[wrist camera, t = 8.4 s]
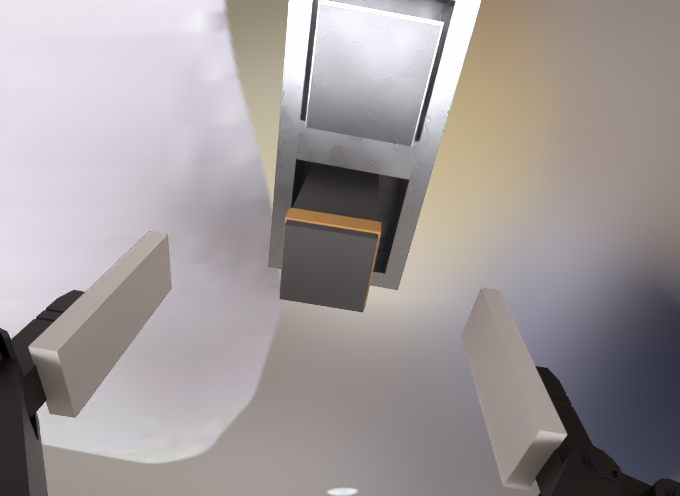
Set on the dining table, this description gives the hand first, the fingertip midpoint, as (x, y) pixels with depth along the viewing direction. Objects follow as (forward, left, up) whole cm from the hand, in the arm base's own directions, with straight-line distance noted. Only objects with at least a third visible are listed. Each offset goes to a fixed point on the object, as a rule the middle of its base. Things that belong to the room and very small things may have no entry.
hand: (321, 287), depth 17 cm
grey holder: (0, +4, -11) cm, 12 cm away
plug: (0, 0, -10) cm, 10 cm away
